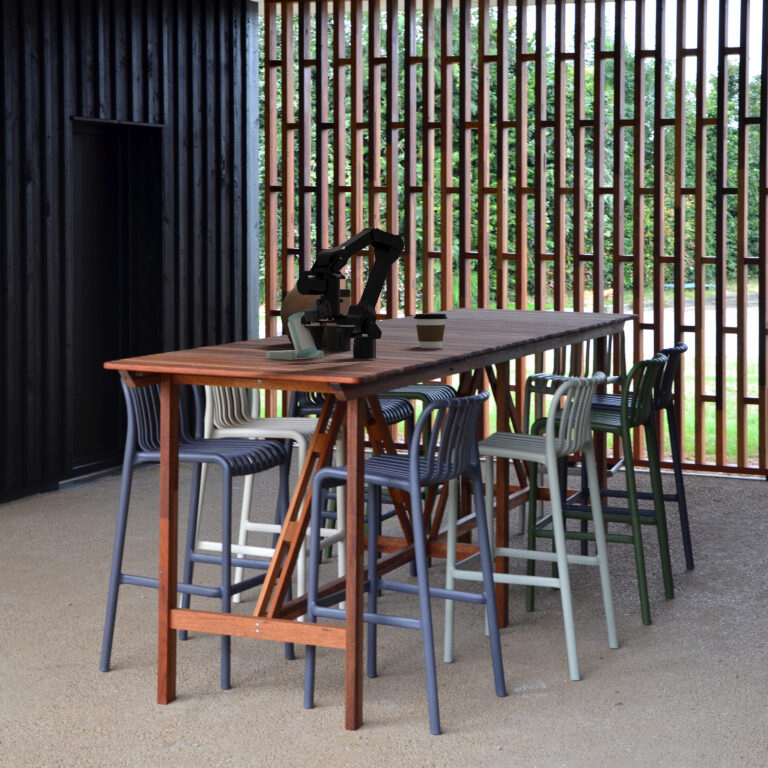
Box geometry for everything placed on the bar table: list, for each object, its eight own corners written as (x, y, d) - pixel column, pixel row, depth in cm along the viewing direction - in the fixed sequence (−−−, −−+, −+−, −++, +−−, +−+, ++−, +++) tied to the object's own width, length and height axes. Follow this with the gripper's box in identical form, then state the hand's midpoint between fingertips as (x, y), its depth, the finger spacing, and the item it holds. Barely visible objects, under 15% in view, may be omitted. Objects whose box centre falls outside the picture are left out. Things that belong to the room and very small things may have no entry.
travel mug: (321, 353, 396) (321, 289, 394) (341, 352, 401) (340, 289, 399) (336, 354, 390) (336, 289, 388) (356, 353, 395) (356, 289, 393)
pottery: (309, 348, 428) (309, 274, 426) (365, 350, 415) (365, 273, 413) (266, 351, 409) (265, 273, 407) (323, 353, 396) (322, 273, 394)
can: (309, 358, 369) (298, 320, 372) (325, 349, 365) (314, 311, 368) (292, 358, 364) (281, 320, 367) (308, 349, 359) (297, 310, 362)
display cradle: (298, 356, 377) (298, 349, 377) (323, 357, 370) (323, 351, 370) (266, 358, 367) (266, 351, 367) (291, 359, 360) (291, 352, 360)
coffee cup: (444, 352, 402) (444, 314, 401) (410, 351, 404) (410, 314, 403) (449, 350, 412) (449, 313, 411) (416, 350, 415) (416, 313, 414)
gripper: (286, 295, 358) (286, 350, 359) (332, 295, 345) (332, 352, 346) (315, 295, 366) (315, 349, 367) (361, 295, 353) (360, 351, 354)
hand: (329, 350), depth 358 cm, fingers open, 9 cm apart
